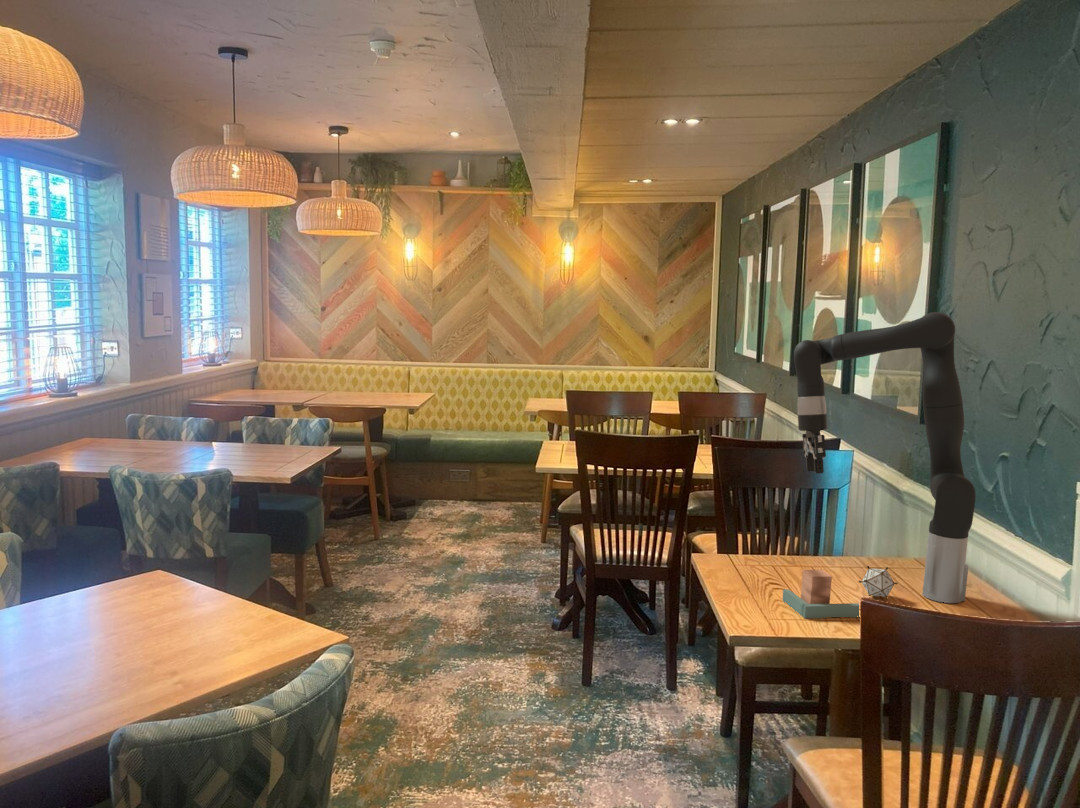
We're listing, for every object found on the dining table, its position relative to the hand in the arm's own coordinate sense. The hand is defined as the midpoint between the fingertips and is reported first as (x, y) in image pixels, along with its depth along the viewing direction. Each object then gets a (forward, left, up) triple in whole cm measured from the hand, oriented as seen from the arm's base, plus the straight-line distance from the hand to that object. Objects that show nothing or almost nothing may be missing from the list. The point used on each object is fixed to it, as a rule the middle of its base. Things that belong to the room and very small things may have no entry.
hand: (815, 472), depth 217 cm
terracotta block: (+10, +24, -30) cm, 39 cm away
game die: (-12, +16, -30) cm, 36 cm away
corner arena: (+7, +23, -30) cm, 39 cm away
